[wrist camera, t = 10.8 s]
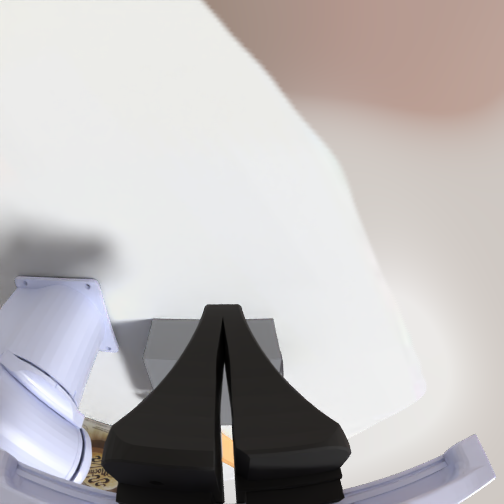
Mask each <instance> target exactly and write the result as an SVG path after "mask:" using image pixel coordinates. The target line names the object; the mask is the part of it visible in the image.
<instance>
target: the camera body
mask: <svg viewBox="0 0 504 504" xmlns="http://www.w3.org/2000/svg"><path fill="white" fill-rule="evenodd" d="M199 322H200V320H178V319H153V321H152V325H151V329H150V332H149V336H148V340H147V344H146V348H145V352H144V356H143V360H144V364H145V367H146V370H147V373H148V376H149V379H150V382H151V384H152V387H153V390H154V389H155V388H156V387H157V386H158V385H159V383H160V382H161V381H162V380H163V379H164V378H165V376H166V375H167V374H168V373H169V371H170V370H171V369H172V367H173V366H174V365H175V363H176V362H177V360H178V359H179V358H180V356H181V354H182V353H183V351H184V350H185V348H186V346H187V345H188V343H189V341H190V340H191V338H192V336H193V334H194V332H195V330H196V328H197V326H198V324H199ZM246 322H247V324H248V326H249V328H250V330H251V332H252V334H253V335H254V337H255V339H256V341H257V342H258V344H259V346H260V347H261V349H262V350H263V352H264V353H265V355H266V356H267V357H268V359H269V360H270V362H271V363H272V364H273V365H274V367H275V368H276V369H277V370H278V372H279V373H280V374H281V375H282V376H283V361H282V355H281V352H280V349H279V344H278V339H277V335H276V330H275V325H274V321H273V319H248V320H246ZM220 420H221V425H232V417H231V407H230V401H229V394H228V386H227V379H226V372H225V364H224V373H223V386H222V398H221V416H220Z"/></svg>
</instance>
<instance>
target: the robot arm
mask: <svg viewBox="0 0 504 504" xmlns="http://www.w3.org/2000/svg"><path fill="white" fill-rule="evenodd" d="M15 284H16V286H17V289H16V290H15V291H14V292H13V294H12V295H11V296H10V297H9V298H8V300H7V301H6V302H5V303H4V305H3V306H2V307H1V309H0V504H223V503H224V502H225V501H224V486H223V468H222V447H221V420H220V416H221V398H222V386H223V373H224V364H225V372H226V379H227V386H228V394H229V401H230V407H231V417H232V436H233V454H234V471H235V487H236V500H237V501H236V502H237V504H459V503H461V502H462V501H464V500H465V499H467V498H468V497H470V496H471V495H473V494H474V493H476V492H477V491H479V490H480V489H481V488H483V487H484V486H486V485H487V484H489V483H490V482H491V481H493V480H494V479H495V478H496V475H495V473H494V471H493V469H492V467H491V464H490V462H489V460H488V458H487V456H486V454H485V451H484V450H483V447H482V445H481V443H480V441H479V439H478V437H477V435H476V434H473V435H471V436H469V437H468V438H466V439H464V440H462V441H460V442H458V443H456V444H455V445H453V446H452V447H451V448H449V449H448V450H447V451H446V452H445V453H444V454H443V455H441V456H439V457H437V458H435V459H432V460H430V461H428V462H426V463H423V464H421V465H418V466H416V467H413V468H411V469H408V470H406V471H403V472H400V473H398V474H395V475H392V476H389V477H386V478H383V479H380V480H376V481H373V482H370V483H367V484H363V485H359V486H356V487H352V488H348V489H344V490H343V489H342V485H341V481H340V479H341V478H342V473H341V469H340V467H341V466H342V465H343V464H344V462H345V461H346V460H347V459H348V457H349V456H350V454H351V449H350V445H349V442H348V440H347V438H346V436H345V434H344V432H343V430H342V428H341V426H340V425H339V424H338V423H337V422H335V421H334V420H332V419H331V418H329V417H328V416H326V415H325V414H324V413H322V412H321V411H320V410H318V409H317V408H316V407H315V406H313V405H312V404H311V403H310V402H308V401H307V400H306V399H305V398H304V397H303V396H302V395H301V394H300V393H298V392H297V391H296V390H295V389H294V388H293V387H292V386H291V385H290V384H289V383H288V382H287V381H286V380H285V378H284V377H283V376H282V375H281V374H280V373H279V372H278V370H277V369H276V368H275V367H274V365H273V364H272V363H271V362H270V360H269V359H268V357H267V356H266V355H265V353H264V352H263V350H262V349H261V347H260V346H259V344H258V342H257V341H256V339H255V337H254V335H253V334H252V332H251V330H250V328H249V326H248V324H247V322H246V319H245V317H244V314H243V311H242V308H241V306H240V305H239V304H218V305H206V306H205V308H204V311H203V314H202V317H201V319H200V322H199V324H198V326H197V328H196V330H195V332H194V334H193V336H192V338H191V340H190V341H189V343H188V345H187V346H186V348H185V350H184V351H183V353H182V354H181V356H180V358H179V359H178V360H177V362H176V363H175V365H174V366H173V367H172V369H171V370H170V371H169V373H168V374H167V375H166V376H165V378H164V379H163V380H162V381H161V382H160V383H159V385H158V386H157V387H156V388H155V389H154V390H153V391H152V392H151V393H150V394H149V395H148V396H147V397H146V398H145V399H144V400H143V401H142V402H141V403H140V404H139V405H138V406H137V407H135V408H134V409H133V410H132V411H131V412H129V413H128V414H127V415H126V416H124V417H123V418H122V419H120V420H119V421H118V422H116V423H115V424H114V425H112V427H111V429H110V431H109V433H108V436H107V439H106V441H105V445H104V449H103V454H102V460H101V466H102V467H103V468H104V470H105V471H106V472H107V473H108V474H110V475H111V476H112V477H113V478H114V479H115V480H116V481H118V485H117V493H113V492H109V491H105V490H100V489H96V488H93V487H89V486H85V485H82V484H81V483H82V482H83V481H84V479H85V478H86V476H87V474H88V472H89V469H90V466H91V461H92V446H91V440H90V437H89V434H88V433H87V431H86V430H85V429H84V428H83V427H82V424H83V421H84V417H85V416H84V414H82V413H81V412H80V411H79V410H78V407H79V404H80V401H81V398H82V395H83V392H84V389H85V386H86V383H87V381H88V378H89V375H90V372H91V369H92V367H93V364H94V361H95V359H96V356H97V354H98V351H106V352H118V350H119V346H118V343H117V340H116V337H115V334H114V331H113V328H112V325H111V322H110V319H109V316H108V313H107V309H106V306H105V303H104V299H103V296H102V292H101V288H100V285H99V283H98V281H96V280H94V279H71V278H47V277H27V276H17V277H16V278H15ZM87 284H88V285H90V287H89V286H88V285H87Z"/></svg>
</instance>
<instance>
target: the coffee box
mask: <svg viewBox="0 0 504 504" xmlns="http://www.w3.org/2000/svg"><path fill="white" fill-rule="evenodd" d="M82 427H83V428H84V429H85V430H86V431H87V433H88V434H89V437H90V440H91V446H92V461H91V466H90V469H89V472H88V474H87V476H86V478H85V479H84V481H83V482H82V483H81V484H82V485H85V486H89V487H93V488H96V489H100V490H105V491H109V492H113V493H117V485H118V481H116V480H115V479H114V478H113V477H112V476H111V475H110V474H108V473H107V472H106V471H105V470H104V468H103V467H102V466H101V460H102V454H103V449H104V445H105V441H106V439H107V436H108V433H109V431H110V429H111V427H112V426H110V425H107V424H104V423H101V422H98V421H95V420H92V419H89V418H86V417H84V421H83V424H82Z"/></svg>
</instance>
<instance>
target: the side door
mask: <svg viewBox="0 0 504 504" xmlns="http://www.w3.org/2000/svg"><path fill="white" fill-rule="evenodd" d="M221 447H222V462H224V463H226V464H228V465H230V466H231V467H233V468H234V454H233V441H232V440H231V439H229V438H228V437H227V436H225V435H224V434H223V433H221Z"/></svg>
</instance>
